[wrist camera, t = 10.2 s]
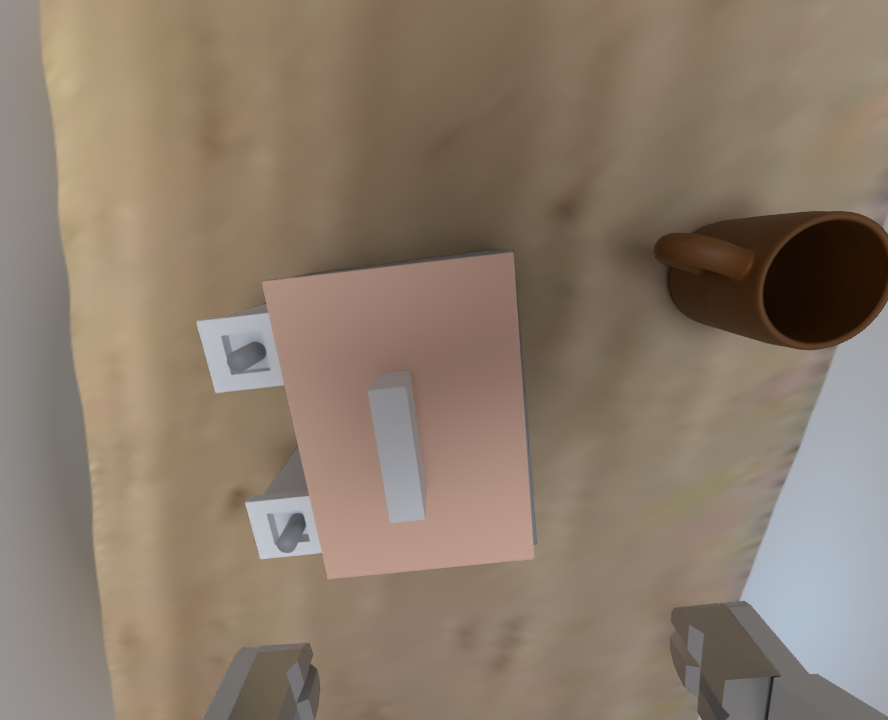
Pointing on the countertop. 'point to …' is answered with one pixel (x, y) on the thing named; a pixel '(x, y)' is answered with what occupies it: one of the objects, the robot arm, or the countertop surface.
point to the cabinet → (291, 477)
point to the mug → (782, 276)
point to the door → (395, 413)
